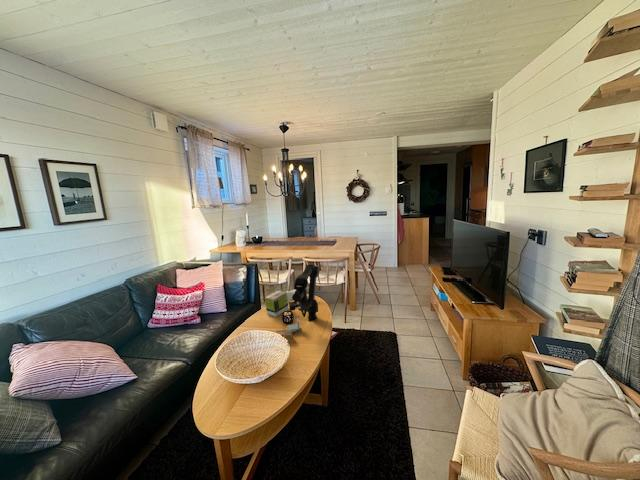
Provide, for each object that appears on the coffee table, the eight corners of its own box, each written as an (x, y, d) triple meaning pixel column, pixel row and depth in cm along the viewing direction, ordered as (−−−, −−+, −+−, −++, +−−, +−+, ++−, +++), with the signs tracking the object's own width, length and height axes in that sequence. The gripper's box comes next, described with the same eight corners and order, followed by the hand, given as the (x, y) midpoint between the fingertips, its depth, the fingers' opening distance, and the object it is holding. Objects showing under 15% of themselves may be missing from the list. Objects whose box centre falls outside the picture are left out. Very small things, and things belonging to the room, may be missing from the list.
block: (284, 338, 167) (284, 331, 165) (291, 337, 167) (291, 330, 166) (285, 342, 162) (284, 335, 161) (292, 341, 163) (291, 334, 162)
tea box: (280, 306, 211) (278, 289, 208) (289, 309, 205) (287, 292, 202) (266, 314, 199) (264, 296, 196) (275, 317, 193) (273, 299, 190)
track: (270, 331, 175) (270, 331, 175) (301, 327, 178) (301, 326, 178) (270, 338, 167) (270, 337, 167) (302, 333, 171) (302, 332, 171)
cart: (287, 329, 176) (286, 319, 174) (298, 327, 177) (298, 317, 175) (287, 334, 170) (286, 323, 168) (299, 332, 171) (299, 322, 170)
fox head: (292, 302, 202) (314, 294, 211) (284, 288, 213) (305, 281, 222) (292, 313, 209) (313, 305, 218) (284, 300, 221) (304, 293, 230)
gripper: (289, 302, 160) (291, 325, 164) (318, 298, 163) (320, 320, 167) (288, 295, 171) (290, 316, 174) (315, 291, 174) (317, 312, 177)
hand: (304, 316), depth 173 cm, fingers closed
